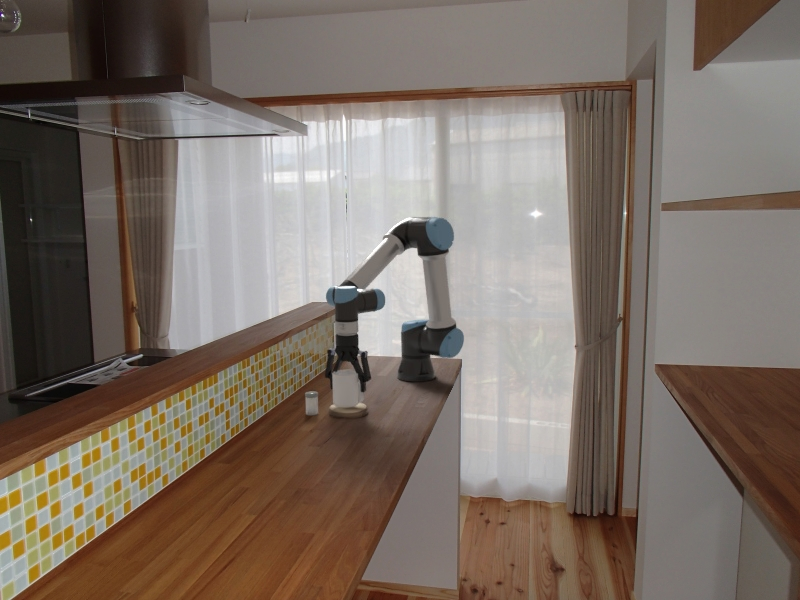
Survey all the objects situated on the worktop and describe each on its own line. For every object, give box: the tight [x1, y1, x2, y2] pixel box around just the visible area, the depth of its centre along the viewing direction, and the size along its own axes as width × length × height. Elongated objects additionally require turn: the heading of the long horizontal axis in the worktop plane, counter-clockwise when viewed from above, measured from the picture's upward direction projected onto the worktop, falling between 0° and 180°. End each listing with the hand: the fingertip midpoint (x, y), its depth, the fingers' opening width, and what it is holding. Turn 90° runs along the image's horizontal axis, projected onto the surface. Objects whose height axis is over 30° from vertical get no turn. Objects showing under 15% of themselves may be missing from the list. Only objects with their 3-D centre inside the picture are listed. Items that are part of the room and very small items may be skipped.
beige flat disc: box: [328, 402, 369, 420], centre depth 219 cm, size 13×13×2 cm
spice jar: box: [304, 390, 319, 416], centre depth 218 cm, size 4×4×7 cm
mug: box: [331, 369, 360, 408], centre depth 218 cm, size 9×12×11 cm
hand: (348, 399), depth 219 cm, fingers closed on mug, 9 cm apart
